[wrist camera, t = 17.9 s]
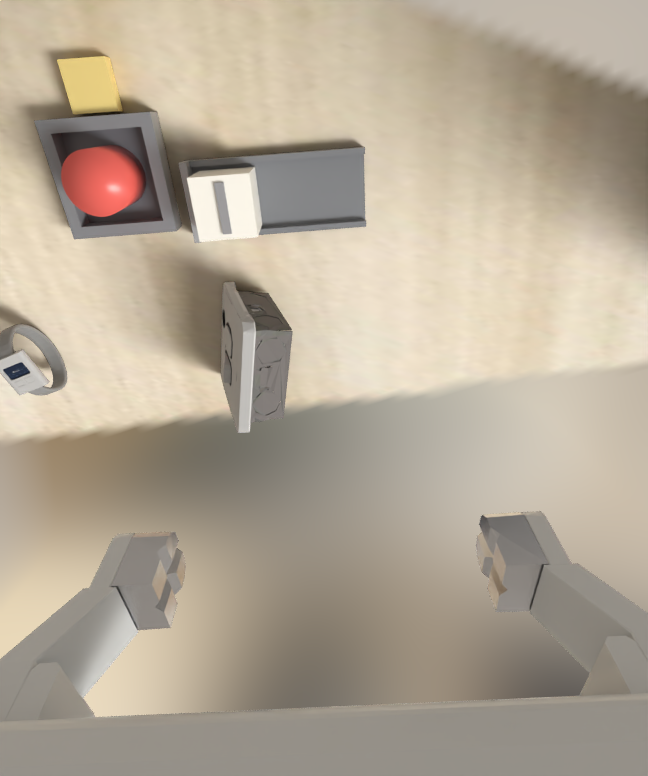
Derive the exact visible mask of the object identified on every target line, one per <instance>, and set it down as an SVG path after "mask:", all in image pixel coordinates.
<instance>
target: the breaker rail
mask: <svg viewBox="0 0 648 776" xmlns="http://www.w3.org/2000/svg"><path fill="white" fill-rule="evenodd" d="M364 154H365V147H352V148H339V149H326V150H313V151H300V152H287V153H274V154H261V155H249V156H236V157H223V158H210V159H197V160H184V161H182V162H179V163H178V164H179V169H180V174H181V178H182V183H183V188H184V193H185V198H186V202H187V207H188V212H189V217H190V222H191V227H192V231H193V236H194V241H195V243H200V241H199V236H198V231H197V226H196V221H195V216H194V211H193V207H192V202H191V197H190V192H189V187H188V182H187V178H188V177H189V176H191V175H193V174H195V173H197V172H198V171H202V170H215V169H228V168H241V167H253V166H255V171H256V179H257V187H258V194H259V202H260V210H261V217H262V226H261V229H260V232H259V235H264V234H277V233H289V232H302V231H315V230H327V229H340V228H352V227H365V226H366V220H365V191H364Z"/></svg>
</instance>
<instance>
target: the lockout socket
mask: <svg viewBox="0 0 648 776" xmlns="http://www.w3.org/2000/svg"><path fill="white" fill-rule="evenodd" d="M57 62H58V65H59V69H60V72H61V75H62V79H63V82H64V85H65V89H66V92H67V95H68V99H69V102H70V105H71V109H72V112H73V115H80V114H93V113H106V112H119V111H123V109H122V105H121V101H120V97H119V93H118V89H117V85H116V81H115V77H114V73H113V69H112V65H111V61H110V58H109V57H106V56H97V57H84V58H71V59H58V60H57ZM34 122H35V125H36V128H37V131H38V134H39V137H40V140H41V143H42V146H43V149H44V152H45V155H46V157H47V160H48V163H49V166H50V169H51V172H52V175H53V178H54V181H55V184H56V187H57V190H58V193H59V196H60V199H61V202H62V205H63V208H64V211H65V214H66V216H67V219H68V222H69V225H70V228H71V231H72V234H73V237H74V239H84V238H96V237H109V236H122V235H134V234H147V233H160V232H172V231H177V230H178V229H179V228H181V227H182V224H181V219H180V215H179V210H178V206H177V201H176V196H175V192H174V187H173V183H172V178H171V173H170V169H169V164H168V160H167V155H166V150H165V146H164V141H163V137H162V132H161V127H160V123H159V118H158V114H157V112H141V113H128V114H115V115H102V116H89V117H76V118H63V119H50V120H37V121H34ZM106 145H117V146H121V147H123V148H125V149H127V150H129V151H130V152H131V153H133V154H134V155H135V156H136V157H137V159H138V160H139V161H140V163H141V164H142V166H143V169H144V171H145V175H146V188H145V191H144V194H143V195H142V197H141V198H140V199H139V200H138V201H136V202H135V203H133V204H131V205H129V206H128V207H126V208H124V209H122V210H120V211H118V212H117V213H115V214H113V215H110V216H106V217H98V216H93V215H90V214H87V213H85V212H83V211H82V210H80V209H79V208H78V207H76V206H75V205H74V204H73V203H72V201H71V200H70V199H69V197H68V196H67V194H66V192H65V190H64V188H63V185H62V180H61V170H62V166H63V163H64V161H65V160H66V158H67V157H68V156H69V155H70V154H71V153H73V152H75V151H77V150H81V149H87V148H93V147H99V146H106Z"/></svg>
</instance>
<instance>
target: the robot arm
mask: <svg viewBox="0 0 648 776" xmlns="http://www.w3.org/2000/svg"><path fill="white" fill-rule="evenodd" d="M479 525H480V528H481V530H482V532H481V533H480V534H479V535H478V536H477V544H476V547H477V557H478V562H479V565H480V568H481V571H482V573H483V574H484V575H486V576H487V577H488V578H489V581H488V587H487V589H488V591H489V594H490V597H491V600H492V603H493V605H494V608H495V611H496V612H515V611H516V612H517V611H530V614H531V615H532V616H533V617H534V618H535V619H536V620H537V621H538V622H539V623H540V624H541V625H542V626H543V627H544V628H545V629H546V630H547V631H548V632H549V633H550V634H551V635H552V636H553V637H554V638H555V639H556V640H557V641H558V642H559V643H560V644H561V645H562V646H563V647H564V648H565V649H566V650H567V651H568V652H569V653H570V654H571V655H572V656H573V657H574V658H575V659H576V660H577V661H578V662H579V663H580V664H581V665H582V666H583V667H584V668H585V669H586V670H587V671H588V672H589V673H590V675H589V677H588V679H587V681H586V683H585V685H584V687H583V689H582V692H581V694H580V696H568V697H546V698H523V699H501V700H477V701H456V702H455V701H454V702H431V703H408V704H385V705H361V706H338V707H317V708H316V707H315V708H295V709H271V710H248V711H225V712H203V713H179V714H157V715H135V716H114V717H113V716H111V717H95V715H94V713H93V711H92V710H91V709H90V707H89V706H88V705H87V703H86V702H85V700H84V699H83V697H84V696H85V695H86V694H87V693H88V692H89V690H90V689H91V688H92V687H93V686H94V684H95V683H96V682H97V681H98V680H99V678H100V677H101V676H102V675H103V674H104V672H105V671H106V670H107V669H108V667H110V665H111V664H112V663H113V661H115V659H116V658H117V657H118V656H119V655H120V653H121V652H122V651H123V650H124V649H125V647H126V646H127V645H128V644H129V642H130V641H131V640H132V639H133V638H134V637H135V635H136V634H137V633H138V630H147V629H160V628H170V627H171V625H172V621H173V618H174V614H175V611H176V607H177V601H176V598H175V594H176V593H177V592H178V591H179V590H180V589H181V588H182V586H183V582H184V577H185V558H184V555H183V552H182V551H181V550H179V549H178V548H176V547H177V544H178V541H179V540H178V538H177V536H176V533H175V532H152V533H126V534H117V535H116V536H115V537H114V538H113V539H112V541H111V543H110V545H109V547H108V550H107V552H106V554H105V556H104V558H103V560H102V562H101V564H100V566H99V568H98V571H97V573H96V575H95V577H94V579H93V581H92V583H91V586H90V587H89V588H85V589H82V590H81V591H80V592H79V593H78V594H77V595H75V596H74V597H73V598H72V599H71V600H69V601H68V602H67V603H66V604H65V605H64V606H62V607H61V608H60V609H59V610H58V611H57V612H55V613H54V614H53V615H52V616H51V617H49V618H48V619H47V620H46V621H45V622H44V623H42V624H41V625H40V626H39V627H38V628H36V629H35V630H34V631H33V632H32V633H31V634H29V635H28V636H27V637H26V638H25V639H24V640H22V641H21V642H20V643H19V644H18V645H16V646H15V647H14V648H13V649H12V650H10V651H9V652H8V653H7V654H6V655H5V656H3V657H2V658H1V659H0V776H648V613H647V612H646V611H644V610H643V609H641V608H640V607H639V606H637V605H636V604H634V603H633V602H632V601H630V600H629V599H627V598H626V597H625V596H623V595H622V594H620V593H619V592H617V591H616V590H615V589H613V588H612V587H610V586H609V585H608V584H606V583H605V582H603V581H602V580H601V579H599V578H598V577H596V576H595V575H594V574H592V573H591V572H589V571H588V570H587V569H585V568H584V567H582V566H581V565H579V564H576V563H575V564H572V563H571V561H570V559H569V558H568V556H567V554H566V552H565V550H564V548H563V547H562V545H561V543H560V541H559V539H558V538H557V536H556V534H555V532H554V530H553V529H552V527H551V525H550V523H549V522H548V520H547V518H546V516H545V514H544V513H542V512H541V511H536V512H521V513H519V512H514V513H499V514H484V515H482V516H481V518H480V523H479Z"/></svg>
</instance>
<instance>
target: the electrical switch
mask: <svg viewBox="0 0 648 776" xmlns="http://www.w3.org/2000/svg"><path fill="white" fill-rule="evenodd" d="M235 288H236V285H235V282H224V283H223V289H222V338H221V378H222V383H223V386H224V390H225V393H226V397H227V400H228V404H229V407H230V410H231V414H232V417H233V420H234V423H235V426H236V429H237V432H239V433H240V432H241V433H243V432H250V423H251V422H256V421H264V420H267V419H278V418H283V417H284V408H285V398H286V389H287V379H288V370H289V360H290V350H291V341H292V331H283V330H292V329H291V327H290V326H289V324H288V323H287V321H286V320H285V318H284V317H283V315H282V314H281V312H280V311H279V309H278V307H277V306H276V304H275V303H274V301H273V300H272V298H271V297H270V295H269V294H268V293H254V292H240V291H237V290H236V289H235ZM261 310H262V311H261ZM284 344H285V345H286V346H285V345H284ZM268 366H269V367H268ZM271 366H272V367H271ZM280 401H281V402H280ZM279 403H280V404H279Z"/></svg>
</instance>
